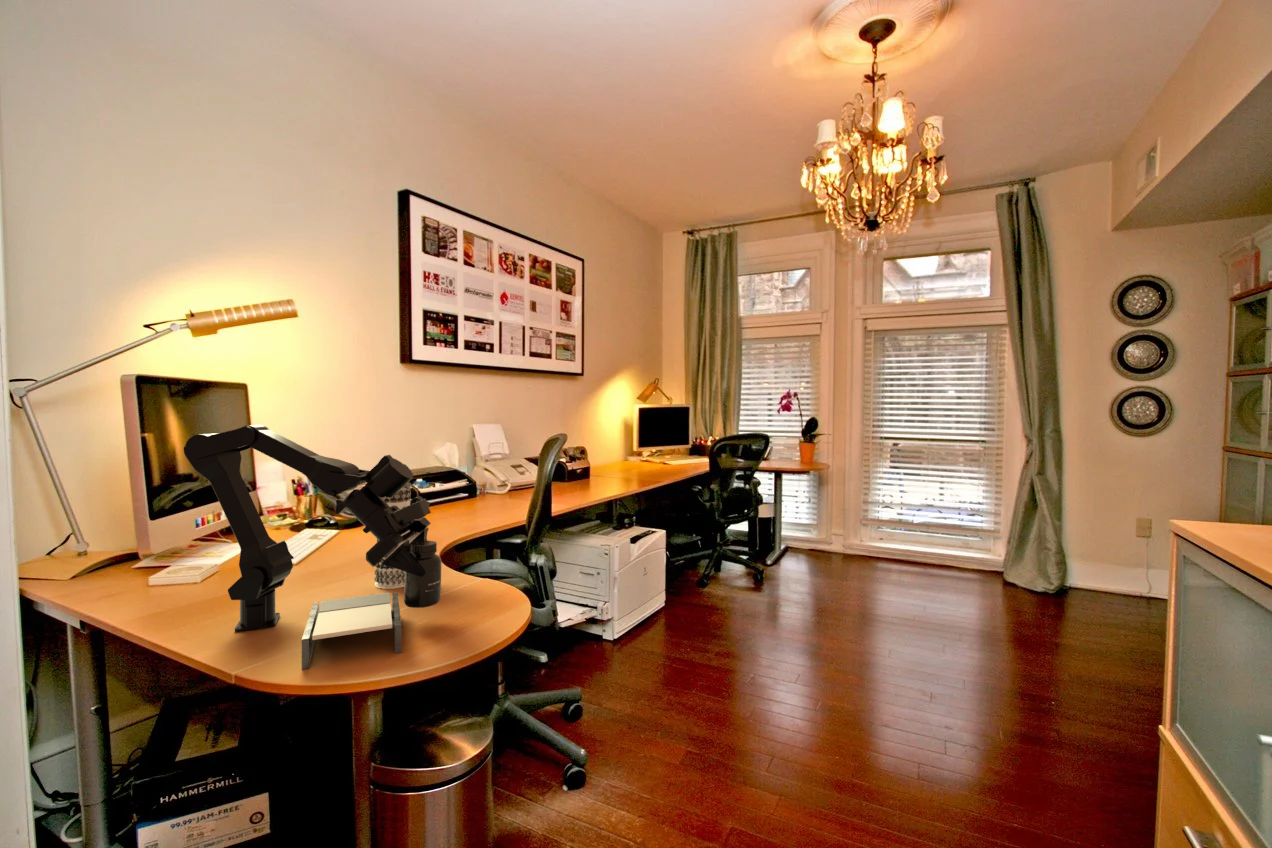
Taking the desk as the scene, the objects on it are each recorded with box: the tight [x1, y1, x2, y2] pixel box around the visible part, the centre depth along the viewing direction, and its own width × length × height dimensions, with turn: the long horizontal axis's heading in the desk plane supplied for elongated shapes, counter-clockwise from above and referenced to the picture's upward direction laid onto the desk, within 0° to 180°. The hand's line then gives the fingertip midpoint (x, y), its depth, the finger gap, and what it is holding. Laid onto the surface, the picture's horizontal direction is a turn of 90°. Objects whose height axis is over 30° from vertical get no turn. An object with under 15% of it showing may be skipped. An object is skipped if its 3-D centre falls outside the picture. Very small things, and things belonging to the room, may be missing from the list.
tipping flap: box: [312, 592, 393, 641], centre depth 99 cm, size 17×12×3 cm
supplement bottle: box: [403, 540, 442, 609], centre depth 107 cm, size 7×7×12 cm
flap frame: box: [301, 592, 402, 670], centre depth 99 cm, size 18×15×5 cm
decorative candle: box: [373, 482, 413, 590], centre depth 131 cm, size 9×9×25 cm
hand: (430, 569), depth 107 cm, fingers closed on supplement bottle, 7 cm apart
